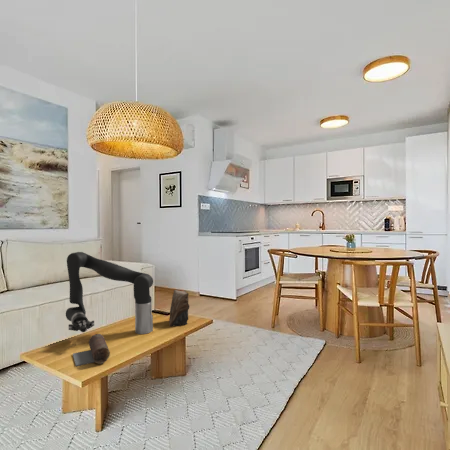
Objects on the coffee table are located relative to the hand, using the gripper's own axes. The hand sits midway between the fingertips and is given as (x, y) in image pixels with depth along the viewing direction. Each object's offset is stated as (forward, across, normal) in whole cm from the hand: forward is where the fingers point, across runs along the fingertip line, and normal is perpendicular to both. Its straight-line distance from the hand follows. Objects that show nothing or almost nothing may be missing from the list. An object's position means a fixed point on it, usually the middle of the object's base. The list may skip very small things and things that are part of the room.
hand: (84, 330), depth 154 cm
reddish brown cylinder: (+2, +5, +6) cm, 8 cm away
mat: (+10, 0, +10) cm, 14 cm away
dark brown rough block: (-12, +55, +10) cm, 57 cm away
